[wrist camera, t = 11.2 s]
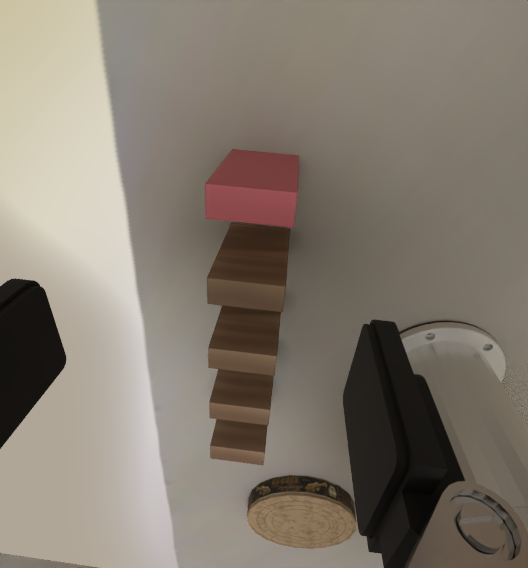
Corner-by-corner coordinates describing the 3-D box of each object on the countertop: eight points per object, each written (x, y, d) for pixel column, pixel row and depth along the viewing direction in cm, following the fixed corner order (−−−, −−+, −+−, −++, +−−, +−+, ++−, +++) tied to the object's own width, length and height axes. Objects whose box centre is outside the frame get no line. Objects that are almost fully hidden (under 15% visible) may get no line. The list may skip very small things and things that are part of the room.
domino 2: (229, 282, 33) (208, 348, 25) (282, 288, 33) (276, 356, 25) (229, 299, 34) (208, 367, 26) (280, 305, 34) (274, 375, 26)
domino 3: (228, 331, 36) (209, 402, 28) (276, 337, 36) (270, 410, 28) (228, 345, 37) (209, 417, 30) (275, 351, 37) (268, 425, 29)
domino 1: (231, 223, 30) (207, 277, 22) (289, 229, 29) (285, 286, 22) (230, 244, 31) (207, 303, 23) (287, 250, 30) (282, 311, 23)
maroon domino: (232, 149, 26) (205, 183, 19) (298, 155, 26) (297, 192, 19) (232, 176, 27) (205, 218, 20) (295, 182, 27) (293, 227, 20)
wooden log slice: (229, 487, 53) (225, 508, 51) (322, 462, 47) (323, 485, 45) (283, 533, 60) (282, 554, 57) (371, 516, 54) (374, 539, 51)
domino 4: (227, 372, 39) (210, 445, 32) (271, 377, 39) (264, 452, 31) (227, 384, 40) (210, 458, 33) (270, 389, 40) (263, 465, 33)
